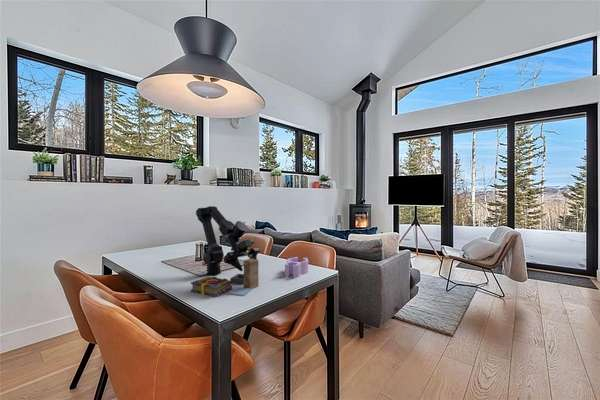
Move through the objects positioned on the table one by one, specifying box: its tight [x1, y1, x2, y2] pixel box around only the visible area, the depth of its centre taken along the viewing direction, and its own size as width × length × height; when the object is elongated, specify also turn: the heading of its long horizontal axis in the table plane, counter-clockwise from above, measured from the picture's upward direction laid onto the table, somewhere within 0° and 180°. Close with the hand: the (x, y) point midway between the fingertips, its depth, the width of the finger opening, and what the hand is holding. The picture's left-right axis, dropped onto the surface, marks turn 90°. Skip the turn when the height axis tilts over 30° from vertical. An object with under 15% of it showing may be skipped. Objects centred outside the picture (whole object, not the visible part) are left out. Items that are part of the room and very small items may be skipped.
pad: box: [227, 286, 253, 297], centre depth 124 cm, size 8×8×1 cm
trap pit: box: [230, 273, 244, 285], centre depth 140 cm, size 8×8×2 cm
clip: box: [284, 256, 309, 279], centre depth 156 cm, size 20×12×7 cm, turn 162°
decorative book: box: [190, 276, 233, 298], centre depth 126 cm, size 11×16×5 cm
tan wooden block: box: [243, 258, 259, 290], centre depth 131 cm, size 5×5×13 cm
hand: (249, 268), depth 132 cm, fingers open, 9 cm apart
